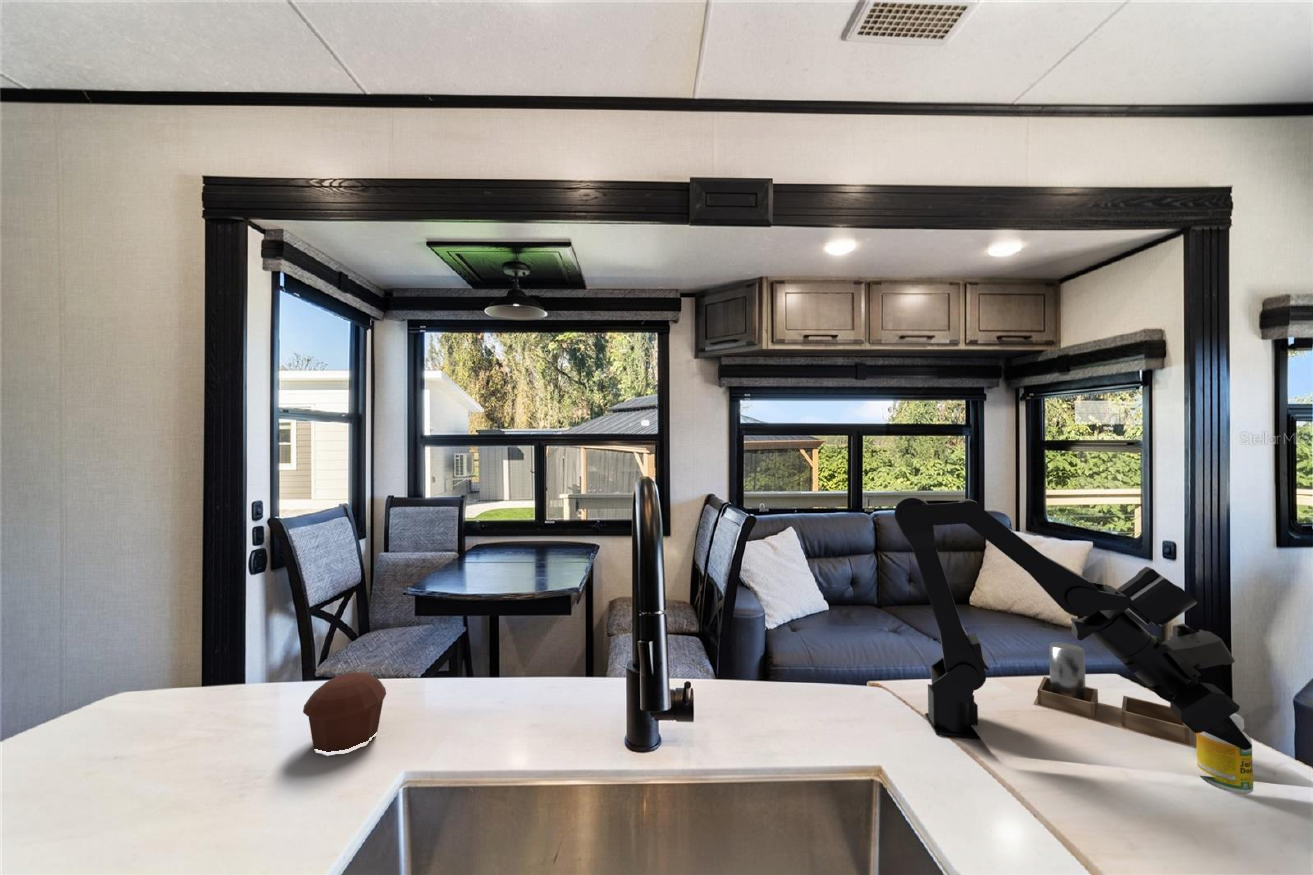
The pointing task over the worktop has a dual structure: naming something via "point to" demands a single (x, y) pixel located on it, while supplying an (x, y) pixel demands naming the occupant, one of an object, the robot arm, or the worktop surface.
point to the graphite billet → (1067, 670)
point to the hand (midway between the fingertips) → (1237, 737)
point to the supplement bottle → (1226, 761)
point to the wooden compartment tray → (1120, 714)
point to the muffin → (345, 711)
